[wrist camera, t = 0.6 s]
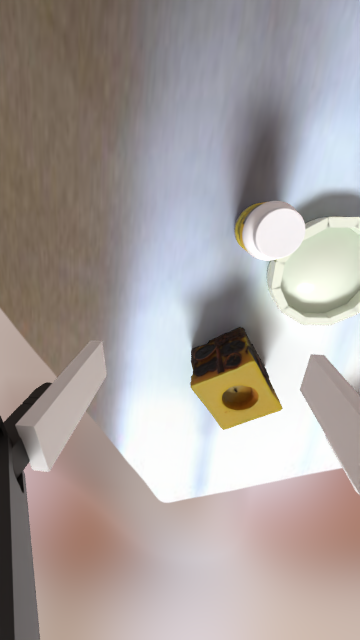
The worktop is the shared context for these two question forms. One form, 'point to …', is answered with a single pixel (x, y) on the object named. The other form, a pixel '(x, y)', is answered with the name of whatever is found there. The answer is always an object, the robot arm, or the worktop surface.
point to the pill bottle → (270, 230)
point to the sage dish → (320, 273)
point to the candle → (232, 380)
